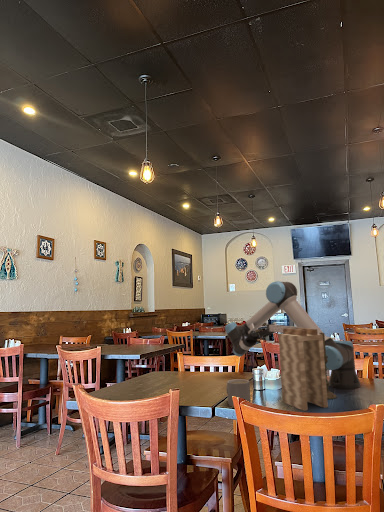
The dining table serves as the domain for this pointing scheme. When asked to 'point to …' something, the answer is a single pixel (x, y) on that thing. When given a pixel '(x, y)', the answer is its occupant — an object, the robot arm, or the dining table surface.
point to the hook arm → (278, 328)
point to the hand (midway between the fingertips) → (264, 324)
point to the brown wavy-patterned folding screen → (302, 368)
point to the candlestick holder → (329, 394)
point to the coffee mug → (238, 389)
